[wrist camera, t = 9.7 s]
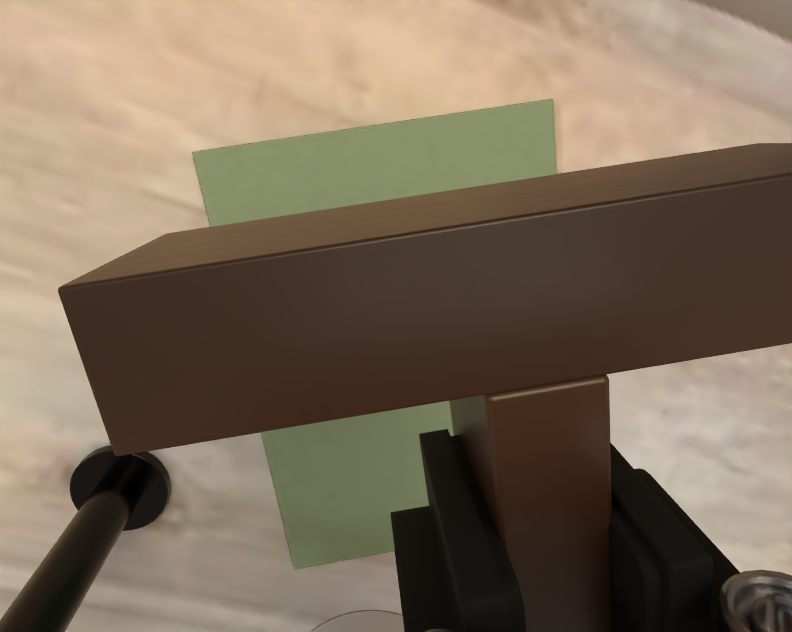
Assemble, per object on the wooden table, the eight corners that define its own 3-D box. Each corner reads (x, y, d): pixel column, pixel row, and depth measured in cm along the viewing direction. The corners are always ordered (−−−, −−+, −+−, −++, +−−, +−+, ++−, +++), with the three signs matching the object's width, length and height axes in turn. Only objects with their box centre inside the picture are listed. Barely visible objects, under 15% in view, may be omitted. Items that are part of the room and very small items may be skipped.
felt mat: (294, 565, 29) (294, 570, 28) (193, 151, 22) (191, 152, 22) (571, 513, 29) (574, 517, 29) (551, 99, 23) (553, 98, 23)
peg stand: (91, 530, 27) (-247, 1053, 11) (62, 453, 26) (-366, 925, 10) (181, 514, 27) (-29, 1004, 12) (157, 436, 26) (-118, 874, 10)
